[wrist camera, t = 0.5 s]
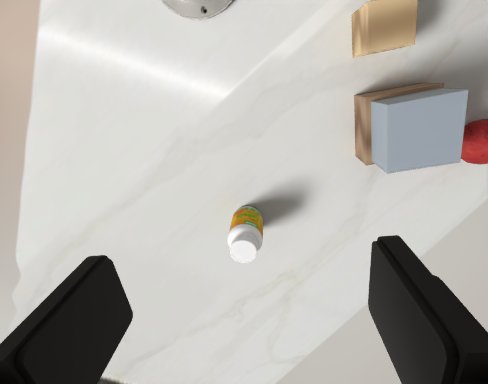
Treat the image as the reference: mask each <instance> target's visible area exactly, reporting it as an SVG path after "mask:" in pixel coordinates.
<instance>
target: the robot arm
mask: <svg viewBox="0 0 488 384" xmlns="http://www.w3.org/2000/svg"><path fill="white" fill-rule="evenodd" d="M161 1H162V2H163V3H164V4H165V5H166V6H167V7H168V8H169V9H170V10H172V11H173V12H175V13H177V14H178V15H180V16H182V17H186V18H189V19H199V20H201V19H206V18H210V17H213V16H215V15H217V14H219V13H220V12H222V11H223V10H224V9H226V7H227V6H228V5H229V4H230V3H231V2H232V1H233V0H161ZM205 9H206V10H207V12H206V13H204V10H205ZM368 306H369V310H370V313H371V316H372V318H373V320H374V323H375V325H376V327H377V329H378V331H379V334H380V336H381V338H382V340H383V343H384V345H385V347H386V349H387V352H388V354H389V356H390V358H391V361H392V363H393V365H394V367H395V369H396V372H397V374H398V376H399V378H400V381H401V383H402V384H488V332H487V331H486V330H485V329H484V328H483V327H482V326H481V324H480V323H479V322H478V321H477V320H476V319H475V318H474V317H473V315H472V314H471V313H470V312H469V311H468V310H467V308H466V307H465V306H464V305H463V304H462V303H461V302H460V300H459V299H458V298H457V297H456V296H455V295H454V294H453V292H452V291H451V290H450V289H449V288H448V287H447V286H446V285H445V283H444V282H443V281H442V280H440V278H439V277H437V276H434V275H432V274H431V273H430V272H429V270H428V269H427V268H426V267H425V266H424V264H423V263H422V262H421V261H420V260H419V259H418V257H417V256H416V255H415V254H414V253H413V251H412V250H411V249H410V248H409V247H408V246H407V244H406V243H405V242H404V241H403V240H402V239H401V237H399V236H397V235H396V236H381V237H378V239H377V241H374V242H373V243H372V252H371V267H370V282H369V298H368ZM132 318H133V312H132V309H131V307H130V304H129V302H128V299H127V297H126V294H125V292H124V289H123V287H122V284H121V282H120V279H119V277H118V274H117V272H116V269H115V266H114V264H113V262H112V260H111V259H109V258H108V257H107V256H105V255H101V256H90V257H87V258H86V259H85V260H84V261H83V262H82V263H81V264H80V265H79V266H78V267H77V268H76V269H75V270H74V271H73V272H72V273H71V274H70V275H69V276H68V277H67V278H66V279H65V280H64V281H63V282H62V283H61V284H60V285H59V286H58V287H57V288H56V289H55V290H54V291H53V292H52V293H51V294H50V295H49V296H48V297H47V298H46V299H45V300H44V301H43V302H42V303H41V304H40V305H39V306H38V307H37V308H36V309H35V310H34V311H33V312H32V313H31V314H30V315H29V316H28V317H27V318H26V319H25V320H24V321H23V322H22V323H21V324H20V325H19V326H18V327H17V328H16V329H15V330H14V331H13V332H12V333H11V334H10V335H9V336H8V337H7V338H6V339H5V340H4V341H3V342H2V343H1V344H0V384H97V383H98V381H99V379H100V377H101V376H102V374H103V372H104V370H105V368H106V367H107V365H108V363H109V361H110V359H111V358H112V356H113V354H114V352H115V350H116V348H117V347H118V345H119V343H120V341H121V339H122V338H123V336H124V334H125V332H126V330H127V329H128V327H129V325H130V323H131V321H132Z"/></svg>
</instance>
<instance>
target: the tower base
mask: <svg viewBox="0 0 488 384" xmlns="http://www.w3.org/2000/svg"><path fill="white" fill-rule="evenodd" d="M443 86H444V84H443V83H420V84H414V85H409V86H404V87H398V88H393V89H387V90H382V91H376V92H371V93H365V94H360V95H354V105H355V149H356V157H357V158H358V159H360V160H361V161H362V162H363V163H364V164H366V165H372V164H374V163H373V162H372V143H371V101H376V100H381V99H386V98H391V97H396V96H401V95H407V94H412V93H417V92H422V91H427V90H432V89H438V88H443Z"/></svg>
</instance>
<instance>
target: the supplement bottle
mask: <svg viewBox="0 0 488 384" xmlns="http://www.w3.org/2000/svg"><path fill="white" fill-rule="evenodd" d="M262 239H263V218H262V215H261V213H260V212H259V211H258V210H257V209H256V208H253V207H250V206H245V207H241V208H239V209H238V210H236V212H235V213H234V215H233V218H232V222H231V226H230V230H229V234H228V244H229V247H230V254H231V256H232V258H233V259H234V260H236V261H238V262H241V263H248V262H251V261H253V260H254V259H255V257H256V256H257V251H258V250H259V249H260V248H261V245H262Z"/></svg>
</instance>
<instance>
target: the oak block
mask: <svg viewBox="0 0 488 384" xmlns="http://www.w3.org/2000/svg"><path fill="white" fill-rule="evenodd" d="M417 3H418V0H375V1H371V2H368V3H366V4H365V5H364V6H363V7H361V8H360V9H359V10H357V11H356V12H355V13H353V14H352V51H353V57H358V56H363V55H368V54H373V53H378V52H383V51H388V50H393V49H397V48H401V47H405V46H409V45H414V44H415V38H416V21H417Z"/></svg>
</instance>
